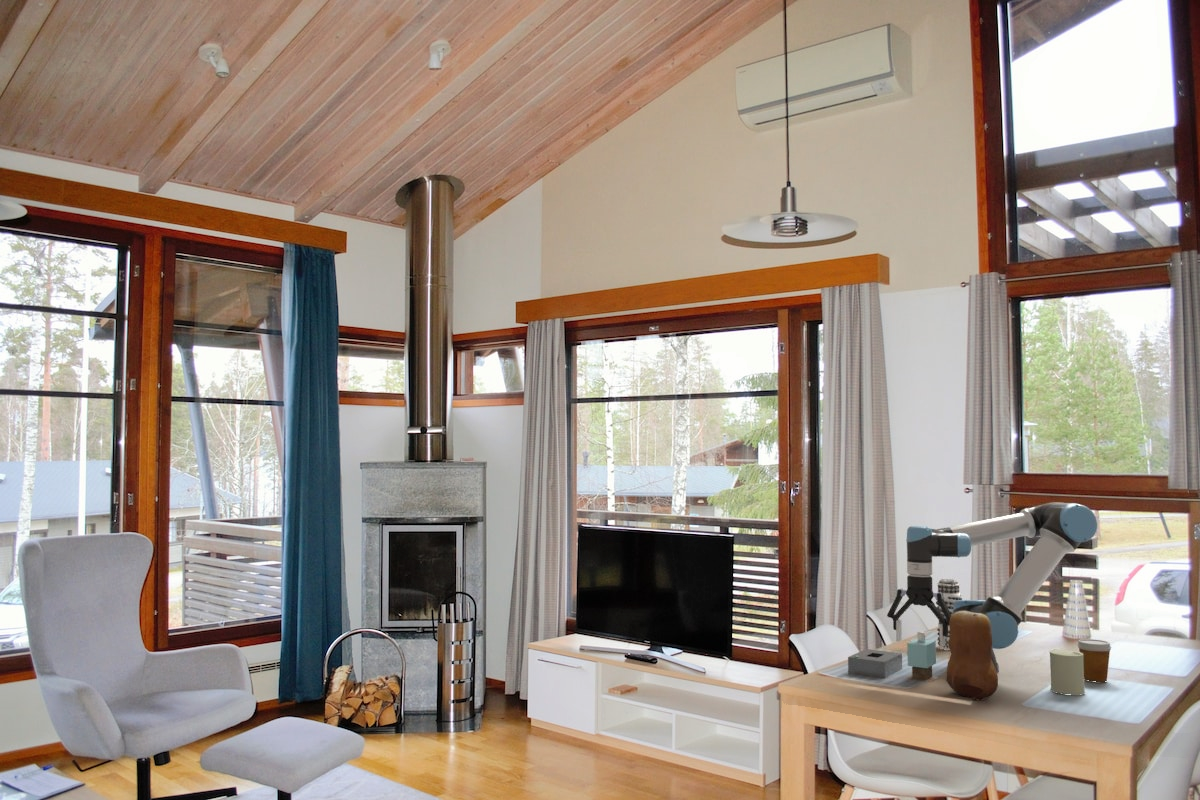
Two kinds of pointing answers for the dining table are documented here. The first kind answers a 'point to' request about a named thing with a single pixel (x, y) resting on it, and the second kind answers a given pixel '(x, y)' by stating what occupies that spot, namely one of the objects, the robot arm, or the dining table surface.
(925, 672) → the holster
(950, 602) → the decorative candle
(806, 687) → the dining table surface
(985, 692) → the butternut squash
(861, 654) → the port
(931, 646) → the teal and white block
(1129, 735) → the dining table surface
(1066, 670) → the can
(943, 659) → the dining table surface
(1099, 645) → the disposable coffee cup
